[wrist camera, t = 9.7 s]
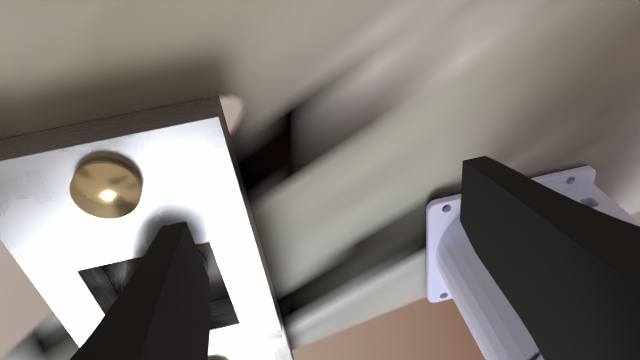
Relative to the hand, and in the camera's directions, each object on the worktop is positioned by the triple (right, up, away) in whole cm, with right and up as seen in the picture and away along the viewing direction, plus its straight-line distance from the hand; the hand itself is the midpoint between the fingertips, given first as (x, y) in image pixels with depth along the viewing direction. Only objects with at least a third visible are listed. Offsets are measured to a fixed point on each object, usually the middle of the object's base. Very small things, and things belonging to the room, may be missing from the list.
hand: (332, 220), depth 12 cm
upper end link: (-8, -2, +11) cm, 14 cm away
